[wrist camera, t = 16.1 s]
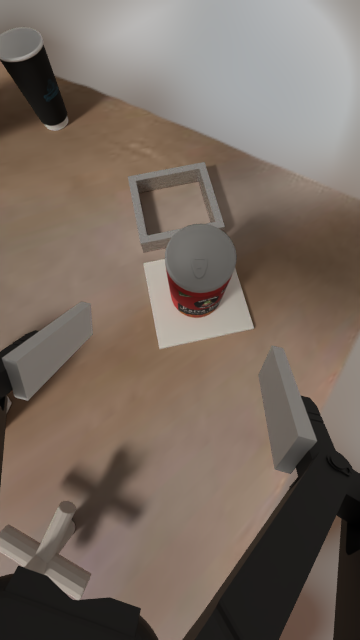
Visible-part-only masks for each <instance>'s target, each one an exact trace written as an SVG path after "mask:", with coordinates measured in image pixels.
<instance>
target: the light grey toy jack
mask: <svg viewBox="0 0 360 640" xmlns="http://www.w3.org/2000/svg"><path fill="white" fill-rule="evenodd" d="M75 510H76V506H75V505H74V504H73V503H72V502H69V501H63V502H61V503H60V505H59V507H58V509H57V511H56V513H55V515H54V517H53V519H52V521H51V523H50V525H49V527H48V529H47V532H46V534H45V536H44V538H43V540H42V542H41V543H39V542H37V541H36V540H34V539H32V538H31V537H29V536H27V535H26V534H24V533H22V532H21V531H19V530H17V529H16V528H14V527H12V526H11V525H7V526H6V527H5V528H4V529H3V530H2V531H1V532H0V552H1V553H2V554H4V555H6V556H7V557H9V558H10V559H12V560H14V561H15V562H17V563H19V564H20V565H22V566H23V567H24V568H27V569H29V570H32V571H35V572H38V573H41V574H44V575H47V576H48V577H49V578H50V579H51V580H52V581H53V582H54V583H55V584H56V585H57V586H58V587H59V588H60V589H61V590H62V591H64V592H65V593H67V594H68V595H70V596H72V597H73V598H75V599H76V600H80V599H81V597H82V595H83V592H84V590H85V588H86V586H87V583H88V581H89V579H90V576H91V573H89V572H88V571H86V570H84V569H83V568H81V567H79V566H78V565H76V564H74V563H73V562H71V561H69V560H67V559H66V558H64V557H62V556H61V555H59V553H60V551H61V550H62V549H63V547H64V546H65V544H66V543H67V542H68V540H69V539H70V538H71V536H72V535H73V533H74V531H75V524H74V522H73V521H72V520H71V519H72V517H73V515H74V513H75Z"/></svg>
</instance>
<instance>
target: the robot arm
mask: <svg viewBox="0 0 360 640" xmlns="http://www.w3.org/2000/svg"><path fill="white" fill-rule="evenodd" d="M92 335H93V332H92V315H91V304H90V303H86V302H80V303H78V304H77V305H75V306H74V307H73V308H71V309H70V310H68V311H67V312H66V313H64V314H63V315H61V316H60V317H59V318H57V319H56V320H54V321H53V322H52V323H50V324H49V325H47V326H46V327H45V328H43V329H42V330H40V331H33V332H30V333H28V334H25V335H24V336H23V337H21V338H20V339H19V340H17V341H15V342H14V343H13V344H11V345H9V346H8V347H6V348H5V349H3V350H2V351H1V352H0V485H1V473H2V461H3V450H4V438H5V426H6V415H7V403H8V398H7V394H8V393H9V392H10V391H11V390H13V393H14V396H15V397H16V398H20V399H23V400H27V401H28V400H29V399H30V398H31V397H32V396H33V395H34V394H35V393H36V392H37V391H38V390H39V389H40V388H41V387H42V386H43V385H44V384H45V383H46V382H47V381H48V380H49V379H50V378H51V377H52V376H53V375H54V373H55V372H56V371H57V370H58V369H59V368H60V367H61V366H62V365H63V364H64V363H65V362H66V361H67V360H68V359H69V358H70V357H71V356H72V355H73V354H74V353H75V352H76V351H77V350H78V349H79V348H80V347H81V346H82V345H83V344H84V343H85V342H86V341H87V340H88V339H89V338H90V337H91V336H92ZM259 381H260V387H261V393H262V398H263V404H264V410H265V416H266V422H267V428H268V433H269V439H270V445H271V451H272V457H273V462H274V468H275V470H278V471H282V472H286V473H289V474H291V473H292V472H293V470H294V469H295V468H296V470H297V474H298V478H297V479H296V480H295V481H294V482H293V484H292V485H291V486H290V489H289V490H288V491H287V493H286V494H285V496H284V497H283V499H282V500H281V501H280V503H279V504H278V506H277V507H276V509H275V510H274V511H273V513H272V514H271V516H270V517H269V519H268V520H267V521H266V523H265V524H264V526H263V527H262V529H261V530H260V531H259V533H258V534H257V536H256V537H255V539H254V540H253V541H252V543H251V544H250V546H249V547H248V549H247V550H246V551H245V553H244V554H243V556H242V557H241V559H240V560H239V561H238V563H237V564H236V566H235V567H234V569H233V570H232V572H231V573H230V574H229V576H228V577H227V579H226V580H225V582H224V583H223V584H222V586H221V587H220V589H219V590H218V592H217V593H216V594H215V596H214V597H213V599H212V600H211V602H210V603H209V604H208V606H207V607H206V609H205V610H204V612H203V613H202V614H201V616H200V617H199V618H198V620H197V621H196V622H195V624H194V625H193V626H192V627H191V629H190V630H189V631H188V633H187V634H186V636H185V637H184V638H183V640H279V638H280V636H281V634H282V631H283V629H284V627H285V625H286V623H287V621H288V618H289V616H290V614H291V612H292V610H293V608H294V605H295V603H296V601H297V599H298V597H299V594H300V592H301V590H302V588H303V586H304V584H305V582H306V580H307V577H308V575H309V573H310V571H311V568H312V566H313V564H314V562H315V560H316V558H317V556H318V553H319V551H320V549H321V547H322V545H323V542H324V541H325V538H326V536H327V534H328V532H329V530H330V528H331V525H332V523H333V521H334V519H335V517H336V515H337V516H338V517H340V518H342V521H341V535H340V549H339V550H340V551H339V564H338V578H337V593H336V608H335V622H334V637H333V640H360V473H358V472H356V471H355V470H353V469H352V466H351V465H350V464H349V462H348V461H347V459H345V458H344V457H343V456H342V455H341V454H340V453H338V452H337V451H336V450H335V448H334V446H333V443H332V441H331V439H330V436H329V434H328V431H327V429H326V427H325V424H323V420H322V417H321V416H320V413H319V410H318V408H317V406H316V405H315V403H314V402H313V401H312V400H311V399H310V398H308V397H304V396H301V395H300V393H299V390H298V387H297V384H296V382H295V379H294V376H293V374H292V371H291V368H290V365H289V363H288V360H287V357H286V354H285V352H284V349H283V348H280V347H276V346H271V348H270V351H269V353H268V355H267V357H266V359H265V362H264V364H263V366H262V368H261V370H260V373H259ZM140 610H141V608H138V607H135V606H132V605H130V604H127V603H124V602H121V601H118V600H115V599H112V598H98V599H86V600H72V599H71V598H70V597H69V596H68V595H66V594H65V593H64V592H63V591H62V590H61V589H60V588H59V587H58V586H57V585H56V584H55V583H54V582H53V581H52V580H51V579H50V578H49V577H48V576H47V575H44V574H41V573H38V572H35V571H32V570H29V569H27V568H24V567H21V566H18V567H17V569H16V571H15V573H14V574H9V575H5V576H1V577H0V640H158V638H157V636H156V634H155V633H154V631H153V629H152V628H151V627H150V625H149V624H148V623H147V622H146V621H145V620H144V619H143V618H142V617H141V616H140Z"/></svg>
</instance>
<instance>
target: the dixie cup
mask: <svg viewBox="0 0 360 640" xmlns="http://www.w3.org/2000/svg"><path fill="white" fill-rule="evenodd" d="M0 61H1V62H2V64H3V65H4V67H5V68H6V70H7V71H8V73H9V74H10V76H11V77H12V78H13V80H14V81H15V83H16V84H17V86H18V87H19V89H20V90H21V92H22V93H23V95H24V96H25V98H26V99H27V101H28V102H29V104H30V105H31V107H32V108H33V110H34V111H35V113H36V114H37V116H38V117H39V119H40V120H41V122H42V123H43V124H45V126H46V127H47V128H48V129H50V130H60V129H62V128H64V127H65V126H66V125H67V124H68V117H67V111H66V108H65V105H64V102H63V99H62V96H61V94H60V91H59V88H58V85H57V82H56V79H55V76H54V73H53V71H52V68H51V65H50V62H49V59H48V56H47V54H46V50H45V48H44V45H43V37H42V35H41V34H40V33H39V32H38V31H36V30H35V29H32V28H25V27H22V28H14V29H11V30H8V31H6V32H4V33H2V34H1V35H0Z"/></svg>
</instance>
